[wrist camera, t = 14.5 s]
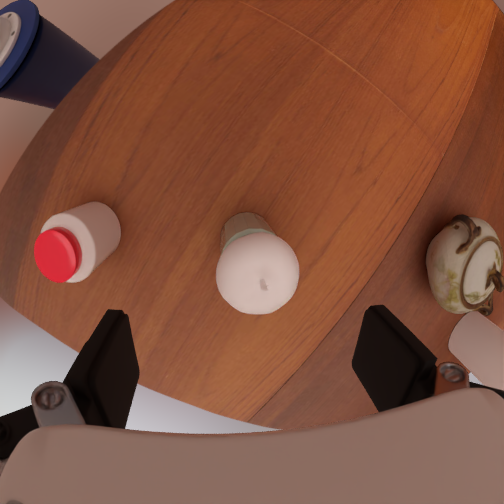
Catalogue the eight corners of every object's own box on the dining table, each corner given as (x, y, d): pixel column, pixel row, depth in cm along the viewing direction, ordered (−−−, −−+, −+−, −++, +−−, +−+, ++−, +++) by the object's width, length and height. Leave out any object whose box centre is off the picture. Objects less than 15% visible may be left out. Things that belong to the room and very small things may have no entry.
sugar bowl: (391, 233, 38) (461, 268, 24) (451, 179, 36) (522, 194, 22) (427, 318, 44) (477, 363, 30) (477, 268, 42) (530, 298, 28)
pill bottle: (101, 189, 32) (58, 202, 22) (131, 240, 34) (99, 271, 24) (62, 221, 32) (16, 244, 22) (91, 268, 35) (53, 304, 24)
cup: (220, 261, 37) (220, 292, 28) (220, 211, 35) (220, 228, 26) (270, 261, 37) (284, 291, 29) (272, 212, 35) (289, 229, 27)
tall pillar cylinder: (482, 329, 48) (547, 386, 24) (451, 360, 49) (513, 427, 26) (477, 301, 45) (556, 360, 21) (444, 335, 46) (519, 409, 22)
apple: (302, 243, 28) (330, 273, 20) (266, 302, 29) (281, 348, 22) (238, 210, 26) (245, 230, 19) (204, 275, 28) (199, 316, 20)
